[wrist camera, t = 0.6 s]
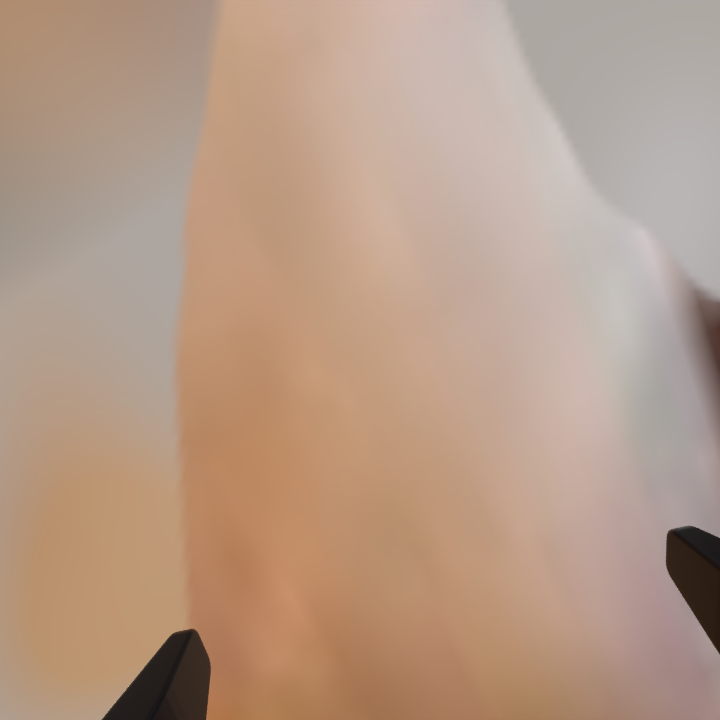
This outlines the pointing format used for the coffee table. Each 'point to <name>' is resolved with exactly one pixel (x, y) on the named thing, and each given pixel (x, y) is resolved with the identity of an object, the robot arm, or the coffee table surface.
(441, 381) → the coffee table surface
